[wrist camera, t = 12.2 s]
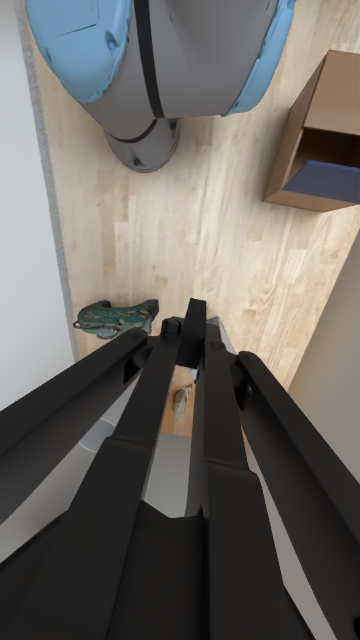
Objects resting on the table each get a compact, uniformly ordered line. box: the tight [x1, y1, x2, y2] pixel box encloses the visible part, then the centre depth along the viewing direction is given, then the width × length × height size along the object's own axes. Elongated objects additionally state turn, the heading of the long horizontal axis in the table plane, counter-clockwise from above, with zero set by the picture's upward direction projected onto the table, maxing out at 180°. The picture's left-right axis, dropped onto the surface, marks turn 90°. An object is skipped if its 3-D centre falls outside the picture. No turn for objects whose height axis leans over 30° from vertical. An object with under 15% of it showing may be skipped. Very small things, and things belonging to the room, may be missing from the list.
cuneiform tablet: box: [174, 384, 192, 422], centre depth 62 cm, size 7×4×12 cm
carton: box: [263, 50, 360, 213], centre depth 31 cm, size 15×13×11 cm
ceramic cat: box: [73, 300, 159, 339], centre depth 45 cm, size 20×6×20 cm, turn 92°
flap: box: [282, 160, 360, 204], centre depth 26 cm, size 7×13×1 cm
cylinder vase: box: [78, 374, 141, 453], centre depth 51 cm, size 12×12×25 cm
